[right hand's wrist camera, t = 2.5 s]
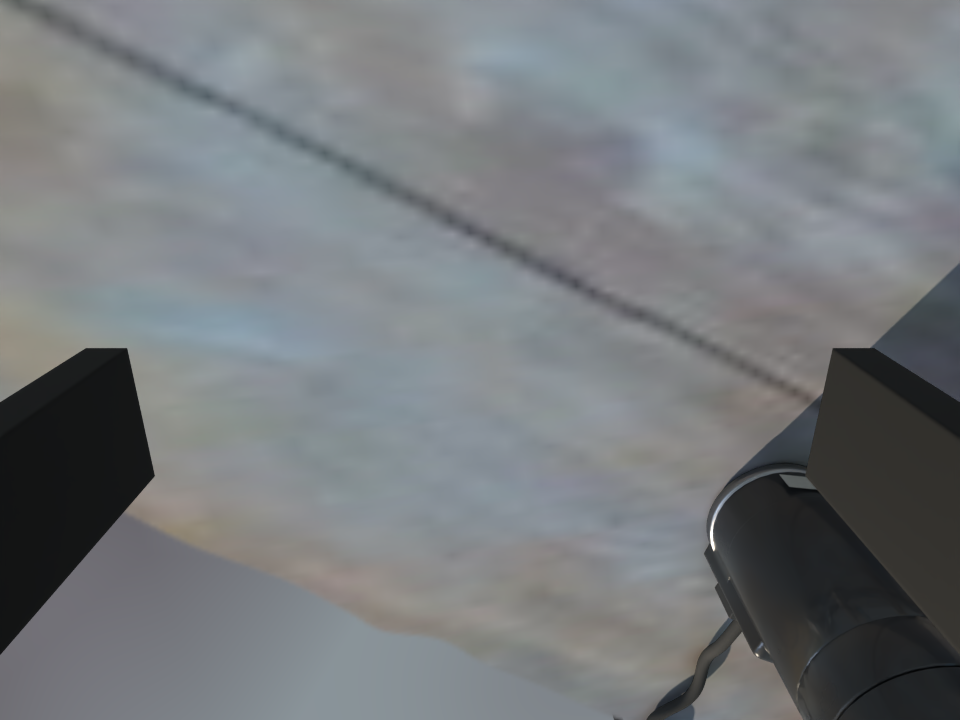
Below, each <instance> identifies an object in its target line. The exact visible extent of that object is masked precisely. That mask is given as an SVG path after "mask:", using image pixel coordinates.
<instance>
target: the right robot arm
mask: <svg viewBox="0 0 960 720" xmlns="http://www.w3.org/2000/svg"><path fill="white" fill-rule="evenodd" d="M154 476H155V475H154V470H153V466H152V461H151V456H150V452H149V447H148V442H147V438H146V433H145V429H144V424H143V419H142V415H141V410H140V405H139V401H138V396H137V392H136V387H135V382H134V378H133V373H132V369H131V364H130V359H129V355H128V350H127V348H86V349H84V350H82V351H81V352H79V353H78V354H76V355H75V356H73V357H71V358H70V359H68V360H67V361H65V362H63V363H62V364H60V365H59V366H57V367H55V368H54V369H52V370H51V371H49V372H48V373H46V374H44V375H43V376H41V377H40V378H38V379H36V380H35V381H33V382H32V383H30V384H29V385H27V386H25V387H24V388H22V389H21V390H19V391H17V392H16V393H14V394H13V395H11V396H9V397H8V398H6V399H5V400H3V401H2V402H0V654H1V653H2V652H3V651H4V650H5V649H6V648H7V646H8V645H9V644H10V643H11V642H12V641H13V639H14V638H15V637H16V636H17V635H18V634H19V632H20V631H21V630H22V629H23V628H24V627H25V626H26V624H27V623H28V622H29V621H30V620H31V619H32V617H33V616H34V615H35V614H36V613H37V612H38V611H39V609H40V608H41V607H42V606H43V605H44V604H45V602H46V601H47V600H48V599H49V598H50V597H51V595H52V594H53V593H54V592H55V591H56V590H57V589H58V587H59V586H60V585H61V584H62V583H63V582H64V580H65V579H66V578H67V577H68V576H69V575H70V574H71V572H72V571H73V570H74V569H75V568H76V567H77V565H78V564H79V563H80V562H81V561H82V560H83V558H84V557H85V556H86V555H87V554H88V553H89V552H90V550H91V549H92V548H93V547H94V546H95V545H96V543H97V542H98V541H99V540H100V539H101V538H102V536H103V535H104V534H105V533H106V532H107V531H108V530H109V528H110V527H111V526H112V525H113V524H114V523H115V521H116V520H117V519H118V518H119V517H120V516H121V515H122V513H123V512H124V511H125V510H126V509H127V508H128V506H129V505H130V504H131V503H132V502H133V501H134V499H135V498H136V497H137V496H138V495H139V494H140V493H141V491H142V490H143V489H144V488H145V487H146V486H147V484H148V483H149V482H150V481H151V480H152V479H153V478H154ZM805 476H806V478H807V479H808V480H809V481H810V482H811V483H812V484H813V486H814V487H815V488H816V489H817V490H818V491H819V493H820V494H821V495H822V496H823V497H824V498H825V499H826V501H827V502H828V503H829V504H830V505H831V506H832V508H833V509H834V510H835V511H836V512H837V513H838V515H839V516H840V517H841V518H842V519H843V520H844V521H845V523H846V524H847V525H848V526H849V527H850V528H851V530H852V531H853V532H854V533H855V534H856V535H857V536H858V538H859V539H860V540H861V541H862V542H863V543H864V545H865V546H866V547H867V548H868V549H869V550H870V552H871V553H872V554H873V555H874V556H875V557H876V558H877V560H878V561H879V562H880V563H881V564H882V565H883V567H884V568H885V569H886V570H887V571H888V572H889V574H890V575H891V576H892V577H893V578H894V579H895V580H896V582H897V583H898V584H899V585H900V586H901V587H902V589H903V590H904V591H905V592H906V593H907V594H908V595H909V597H910V598H911V599H912V600H913V601H914V602H915V604H916V605H917V606H918V607H919V608H920V609H921V611H922V612H923V613H924V614H925V615H926V616H927V617H928V619H929V620H930V621H931V622H932V623H933V624H934V626H935V627H936V628H937V629H938V630H939V631H940V633H941V634H942V635H943V636H944V637H945V638H946V639H947V641H948V642H949V643H950V644H951V645H952V646H953V648H954V649H955V650H956V651H957V652H958V653H959V654H960V402H958V401H957V400H955V399H954V398H952V397H951V396H949V395H947V394H946V393H944V392H943V391H941V390H939V389H938V388H936V387H935V386H933V385H931V384H930V383H928V382H927V381H925V380H924V379H922V378H920V377H919V376H917V375H916V374H914V373H912V372H911V371H909V370H908V369H906V368H905V367H903V366H901V365H900V364H898V363H897V362H895V361H893V360H892V359H890V358H889V357H887V356H885V355H884V354H882V353H881V352H879V351H878V350H876V349H874V348H833V350H832V355H831V359H830V364H829V369H828V373H827V378H826V382H825V387H824V392H823V396H822V401H821V405H820V410H819V415H818V419H817V424H816V429H815V433H814V438H813V442H812V447H811V452H810V456H809V461H808V466H807V470H806V475H805Z"/></svg>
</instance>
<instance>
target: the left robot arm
mask: <svg viewBox="0 0 960 720" xmlns="http://www.w3.org/2000/svg"><path fill="white" fill-rule="evenodd" d="M806 470H807V467H805V466H801V465H796V464H772V465H767V466H763V467H759V468H756V469H753V470H751V471H749V472H747V473H745V474H743V475H741V476H739V477H738V478H736V479H735V480H733V481H732V482H731V483H730V484H729V485H727V486H726V487H725V488H724V489H723V490H722V492H721V493H720V494H719V495H718V497H717V498H716V499H715V501H714V503H713V505H712V507H711V509H710V512H709V515H708V519H707V536H708V540H709V546H708V548H707V549H706V551H705V553H704V555H705V557H706V559H707V561H708V563H709V565H710V567H711V569H712V571H713V573H714V575H715V577H716V579H717V581H718V584H717V585H716V587H715V589H716V591H717V593H718V595H719V598H720V600H721V602H722V604H723V606H724V608H725V610H726V612H727V614H728V616H729V618H730V619H733V621H732V622H731V624H730V625H729V626H728V628H727V629H726V630H725V631H724V632H723V634H722V635H721V636H720V637H719V638H718V639H717V640H716V641H715V642H714V643H713V644H711V645H709V646H708V647H707V648H706V649H705V650H704V651H703V652H702V653H701V655H700V657H699V659H698V662H697V666H696V671H695V675H694V679H693V682H692V684H691V686H690V687H689V689H688V690H687V691H686V692H685V693H684V694H683V695H681V696H680V697H678V698H676V699H675V700H673V701H671V702H669V703H667V704H665V705H663V706H661V707H659V708H658V709H656V710H655V711H654V712H652V713H651V714H650V716H649V717H648V718H647V720H664V719H665V718H667V717H669V716H671V715H672V714H675V713H677V712H679V711H681V710H682V709H684V708H686V707H688V706H689V705H690V704H692V703H693V702H694V701H695V700H696V699H697V698H698V696H699V695H700V694H701V692H702V690H703V688H704V685H705V682H706V678H707V673H708V669H709V666H710V663H711V662H712V660H713V659H714V658H715V657H717V656H718V655H720V654H721V653H723V652H724V651H725V650H726V649H727V648H728V647H729V646H730V645H731V644H732V643H733V642H734V641H735V639H736V638H737V637H738V636H739V635H740V633H741V632H743V634H744V636H745V638H746V640H747V642H748V644H749V646H750V648H751V650H752V652H753V653H754V655H755V656H757V657H758V658H760V659H762V660H765V661H768V662H771V663H774V665H775V667H776V669H777V671H778V673H779V675H780V677H781V678H782V680H783V682H784V684H785V686H786V688H787V690H788V692H789V694H790V696H791V698H792V699H793V701H794V703H795V705H796V707H797V709H798V711H799V713H800V714H801V716H802V718H803V720H960V654H959V653H958V652H957V651H956V650H955V649H954V648H953V646H952V645H951V644H950V643H949V642H948V641H947V639H946V638H945V637H944V636H943V635H942V634H941V633H940V631H939V630H938V629H937V628H936V627H935V626H934V624H933V623H932V622H931V621H930V620H929V619H928V617H927V616H926V615H925V614H924V613H923V612H922V611H921V609H920V608H919V607H918V606H917V605H916V604H915V602H914V601H913V600H912V599H911V598H910V597H909V595H908V594H907V593H906V592H905V591H904V590H903V589H902V587H901V586H900V585H899V584H898V583H897V582H896V580H895V579H894V578H893V577H892V576H891V575H890V574H889V572H888V571H887V570H886V569H885V568H884V567H883V565H882V564H881V563H880V562H879V561H878V560H877V558H876V557H875V556H874V555H873V554H872V553H871V552H870V550H869V549H868V548H867V547H866V546H865V545H864V543H863V542H862V541H861V540H860V539H859V538H858V536H857V535H856V534H855V533H854V532H853V531H852V530H851V528H850V527H849V526H848V525H847V524H846V523H845V521H844V520H843V519H842V518H841V517H840V516H839V515H838V513H837V512H836V511H835V510H834V509H833V508H832V506H831V505H830V504H829V503H828V502H827V501H826V499H825V498H824V497H823V496H822V495H821V494H820V493H819V491H818V490H817V489H816V488H815V487H814V486H813V484H812V483H811V482H810V481H809V480H808V479H807V478H806V476H805V475H806ZM613 718H614V720H621V719H618V718H615V717H613Z"/></svg>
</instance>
